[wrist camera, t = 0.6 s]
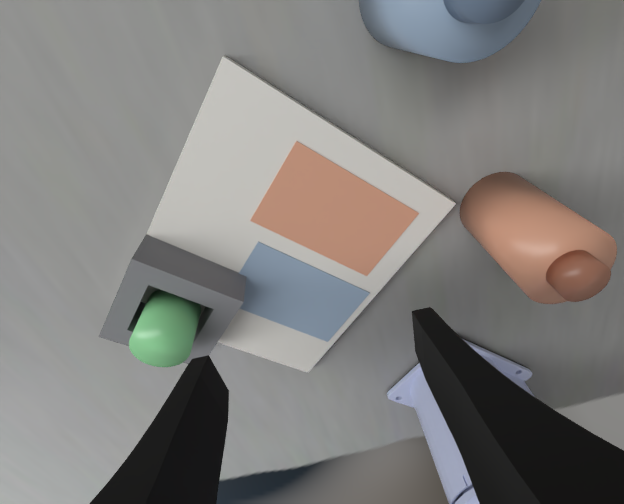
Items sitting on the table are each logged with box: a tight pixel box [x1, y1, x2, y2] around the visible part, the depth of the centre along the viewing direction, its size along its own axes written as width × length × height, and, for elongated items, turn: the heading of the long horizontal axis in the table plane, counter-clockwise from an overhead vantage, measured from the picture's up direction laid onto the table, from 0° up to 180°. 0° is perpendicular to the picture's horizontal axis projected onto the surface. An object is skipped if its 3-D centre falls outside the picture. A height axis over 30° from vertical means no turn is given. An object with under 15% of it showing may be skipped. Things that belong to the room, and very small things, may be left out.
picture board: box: [99, 55, 456, 373], centre depth 20 cm, size 14×16×3 cm
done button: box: [129, 289, 201, 367], centre depth 19 cm, size 3×3×3 cm
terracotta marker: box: [460, 172, 617, 304], centre depth 18 cm, size 4×4×8 cm
